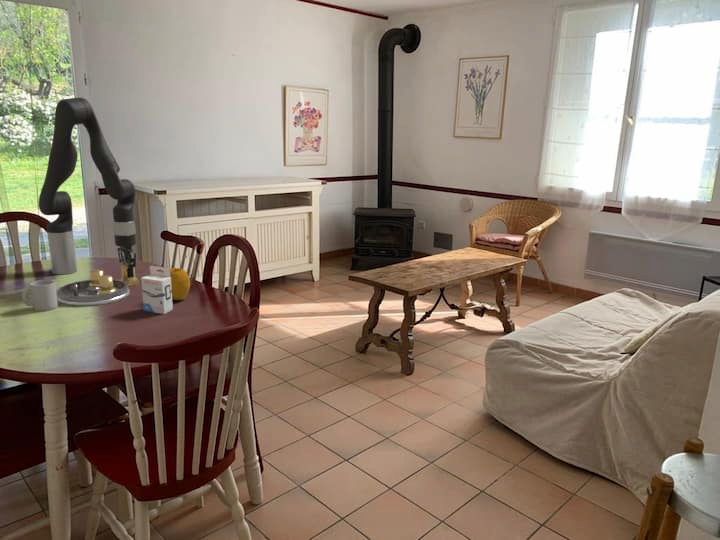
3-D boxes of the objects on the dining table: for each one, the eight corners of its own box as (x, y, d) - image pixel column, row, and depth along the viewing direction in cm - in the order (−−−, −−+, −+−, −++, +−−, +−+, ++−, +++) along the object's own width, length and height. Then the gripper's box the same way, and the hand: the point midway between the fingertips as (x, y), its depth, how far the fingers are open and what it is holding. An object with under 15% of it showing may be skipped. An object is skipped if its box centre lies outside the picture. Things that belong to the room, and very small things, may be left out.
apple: (157, 299, 196) (155, 267, 193) (180, 293, 204) (178, 262, 201) (173, 305, 191) (171, 272, 188) (196, 298, 198) (195, 267, 195)
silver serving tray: (50, 293, 199) (47, 273, 197) (117, 283, 214) (115, 264, 212) (67, 310, 182) (64, 288, 180) (139, 297, 197) (137, 277, 195)
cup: (58, 309, 183) (55, 284, 181) (23, 314, 178) (20, 287, 176) (57, 303, 189) (54, 278, 187) (23, 307, 184) (20, 282, 182)
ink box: (142, 311, 184) (139, 268, 180) (152, 306, 188) (149, 265, 185) (164, 314, 181) (161, 271, 178) (173, 309, 186) (170, 267, 182)
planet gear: (117, 283, 214) (115, 263, 212) (134, 280, 218) (133, 261, 216) (123, 287, 209) (121, 267, 207) (141, 284, 213) (139, 264, 211)
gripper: (108, 230, 211) (112, 273, 216) (121, 236, 201) (124, 281, 205) (128, 228, 216) (131, 270, 220) (141, 234, 206) (145, 278, 210)
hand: (128, 275), depth 213 cm, fingers closed on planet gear, 4 cm apart
